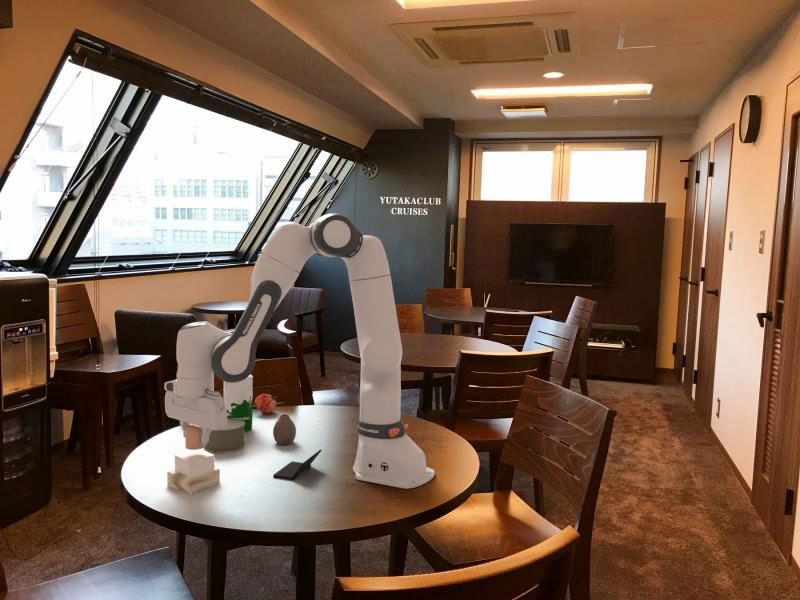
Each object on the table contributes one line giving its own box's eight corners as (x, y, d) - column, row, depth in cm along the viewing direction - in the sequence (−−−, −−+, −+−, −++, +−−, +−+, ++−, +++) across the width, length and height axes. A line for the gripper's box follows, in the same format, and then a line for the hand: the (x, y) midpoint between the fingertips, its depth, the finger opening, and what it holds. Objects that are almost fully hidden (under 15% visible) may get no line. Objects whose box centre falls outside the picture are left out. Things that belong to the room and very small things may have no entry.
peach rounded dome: (210, 445, 160) (210, 426, 159) (194, 451, 156) (193, 431, 155) (197, 441, 163) (197, 423, 162) (181, 446, 159) (181, 427, 158)
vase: (298, 440, 196) (298, 412, 195) (292, 447, 189) (292, 418, 188) (276, 439, 196) (276, 411, 196) (270, 446, 190) (270, 417, 189)
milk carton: (247, 423, 212) (247, 364, 210) (255, 430, 204) (255, 369, 202) (221, 426, 208) (220, 367, 206) (228, 434, 200) (228, 372, 198)
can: (247, 450, 185) (247, 428, 185) (204, 454, 181) (204, 431, 181) (243, 438, 197) (242, 416, 196) (202, 441, 193) (202, 420, 192)
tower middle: (214, 470, 160) (214, 454, 159) (189, 477, 155) (188, 461, 154) (200, 463, 165) (199, 448, 164) (174, 470, 159) (174, 454, 159)
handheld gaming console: (284, 458, 175) (304, 433, 173) (304, 473, 176) (325, 449, 173) (269, 479, 164) (291, 453, 162) (291, 496, 165) (313, 470, 162)
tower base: (219, 484, 161) (219, 468, 161) (189, 495, 154) (189, 479, 153) (197, 476, 166) (197, 461, 166) (167, 486, 159) (167, 471, 159)
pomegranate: (253, 422, 221) (273, 407, 218) (243, 404, 223) (263, 389, 220) (265, 418, 228) (285, 404, 225) (256, 401, 230) (275, 387, 227)
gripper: (233, 390, 155) (233, 445, 156) (181, 378, 166) (181, 429, 167) (212, 395, 149) (212, 452, 151) (160, 382, 161) (160, 435, 162)
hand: (196, 440), depth 159 cm, fingers closed on peach rounded dome, 5 cm apart
